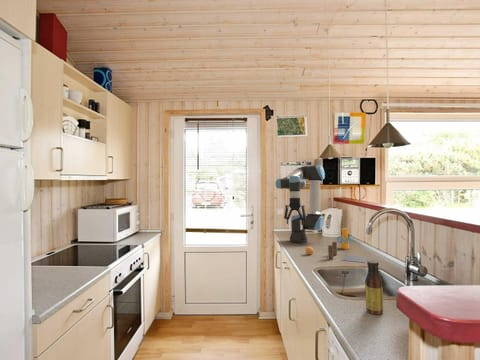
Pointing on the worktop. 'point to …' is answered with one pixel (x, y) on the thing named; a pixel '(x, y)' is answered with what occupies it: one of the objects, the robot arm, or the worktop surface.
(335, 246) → the post
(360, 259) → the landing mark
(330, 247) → the post
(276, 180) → the robot arm
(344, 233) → the orange blue column
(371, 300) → the sauce bottle
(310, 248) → the ball
